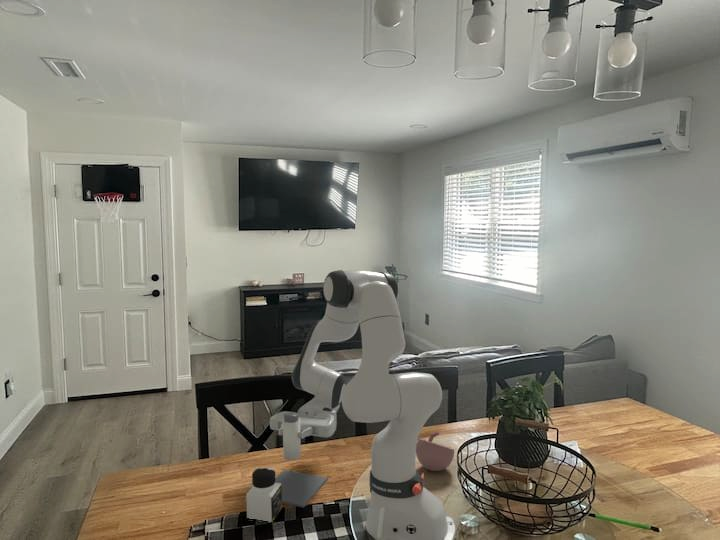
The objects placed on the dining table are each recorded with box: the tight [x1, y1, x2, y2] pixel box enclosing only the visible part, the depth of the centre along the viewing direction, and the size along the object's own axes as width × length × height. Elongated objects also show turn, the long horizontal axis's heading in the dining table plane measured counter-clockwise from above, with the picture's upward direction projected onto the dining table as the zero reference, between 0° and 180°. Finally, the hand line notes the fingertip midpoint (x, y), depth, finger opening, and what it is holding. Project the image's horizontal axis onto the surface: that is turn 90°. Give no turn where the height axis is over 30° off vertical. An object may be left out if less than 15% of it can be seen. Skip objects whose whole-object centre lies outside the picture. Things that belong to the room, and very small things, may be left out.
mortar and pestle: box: [416, 431, 455, 472], centre depth 150 cm, size 12×12×11 cm
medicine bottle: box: [245, 466, 283, 523], centre depth 127 cm, size 7×7×12 cm
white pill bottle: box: [282, 411, 302, 461], centre depth 139 cm, size 5×5×12 cm
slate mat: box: [275, 469, 329, 508], centre depth 140 cm, size 15×16×1 cm
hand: (290, 434), depth 138 cm, fingers closed on white pill bottle, 5 cm apart
